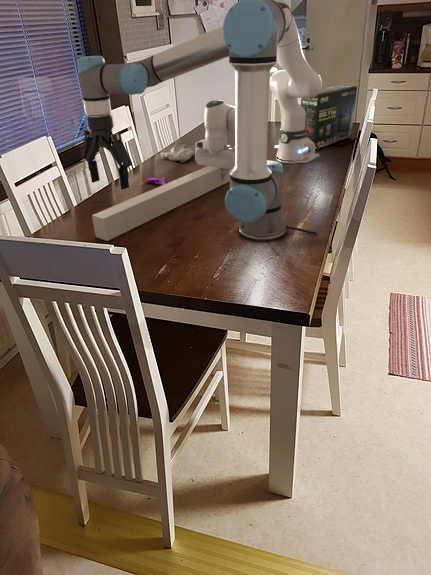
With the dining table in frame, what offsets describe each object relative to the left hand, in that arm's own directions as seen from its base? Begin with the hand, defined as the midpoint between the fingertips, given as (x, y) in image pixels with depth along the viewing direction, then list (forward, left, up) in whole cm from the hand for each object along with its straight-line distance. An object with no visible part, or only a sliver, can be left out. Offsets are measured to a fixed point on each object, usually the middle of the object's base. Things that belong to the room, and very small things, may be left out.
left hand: (110, 184), depth 146 cm
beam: (-3, -29, -16) cm, 33 cm away
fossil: (+32, -84, -16) cm, 91 cm away
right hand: (-6, -57, -14) cm, 59 cm away
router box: (-26, -139, -16) cm, 142 cm away
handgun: (+14, -43, -16) cm, 48 cm away
